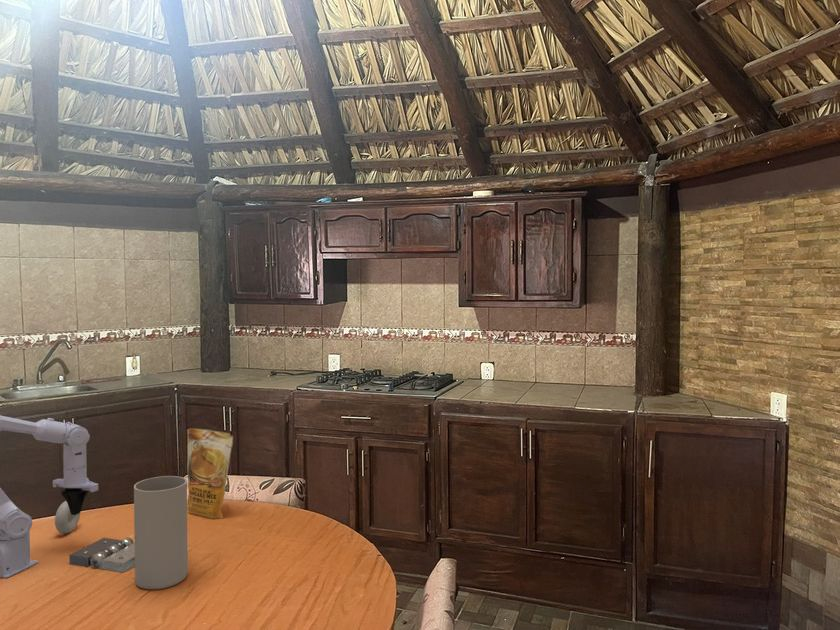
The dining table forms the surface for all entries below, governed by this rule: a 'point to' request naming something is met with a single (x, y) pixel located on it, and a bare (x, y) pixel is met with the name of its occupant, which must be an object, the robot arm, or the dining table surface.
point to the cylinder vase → (160, 532)
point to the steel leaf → (116, 557)
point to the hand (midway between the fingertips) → (75, 513)
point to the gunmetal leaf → (93, 551)
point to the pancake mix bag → (207, 470)
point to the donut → (65, 519)
